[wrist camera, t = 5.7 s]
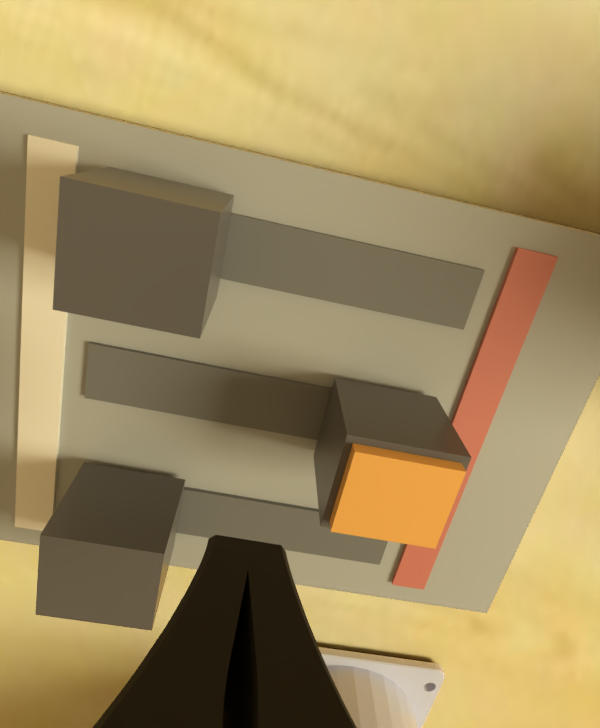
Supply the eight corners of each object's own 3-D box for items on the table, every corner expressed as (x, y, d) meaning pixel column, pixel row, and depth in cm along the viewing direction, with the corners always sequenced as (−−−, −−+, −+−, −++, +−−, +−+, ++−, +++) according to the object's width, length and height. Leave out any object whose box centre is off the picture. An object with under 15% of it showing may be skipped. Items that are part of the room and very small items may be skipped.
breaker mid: (409, 472, 18) (440, 555, 14) (313, 455, 17) (321, 536, 14) (436, 397, 17) (476, 466, 13) (334, 377, 16) (348, 443, 13)
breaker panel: (476, 588, 22) (488, 616, 21) (-50, 506, 20) (-73, 532, 18) (633, 241, 17) (661, 250, 15) (-59, 76, 14) (-92, 71, 13)
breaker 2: (173, 547, 19) (151, 630, 16) (78, 532, 18) (35, 614, 15) (185, 479, 18) (164, 554, 15) (84, 462, 17) (40, 535, 14)
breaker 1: (217, 296, 15) (199, 338, 12) (100, 272, 15) (52, 309, 12) (234, 194, 14) (220, 212, 11) (110, 166, 14) (60, 176, 11)
